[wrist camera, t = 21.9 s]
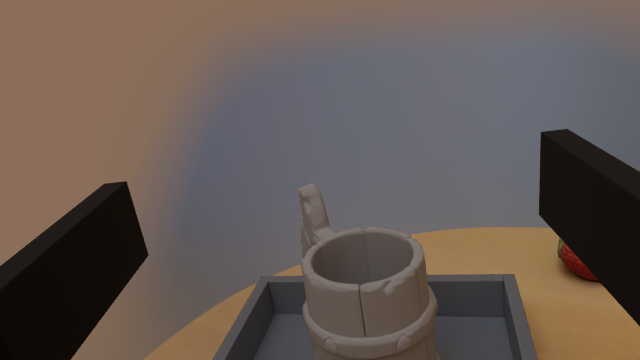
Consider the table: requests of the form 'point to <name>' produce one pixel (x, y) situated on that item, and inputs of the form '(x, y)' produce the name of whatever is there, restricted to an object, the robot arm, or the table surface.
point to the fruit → (573, 261)
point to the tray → (449, 326)
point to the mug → (364, 290)
